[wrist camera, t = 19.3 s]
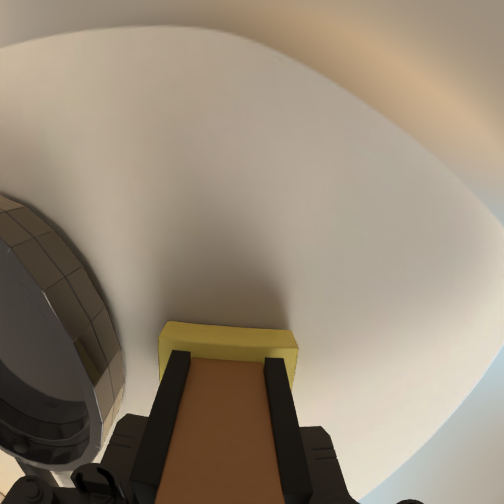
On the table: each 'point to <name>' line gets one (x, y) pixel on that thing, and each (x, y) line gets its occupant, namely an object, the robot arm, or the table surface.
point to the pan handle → (22, 447)
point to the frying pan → (52, 348)
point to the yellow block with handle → (223, 415)
